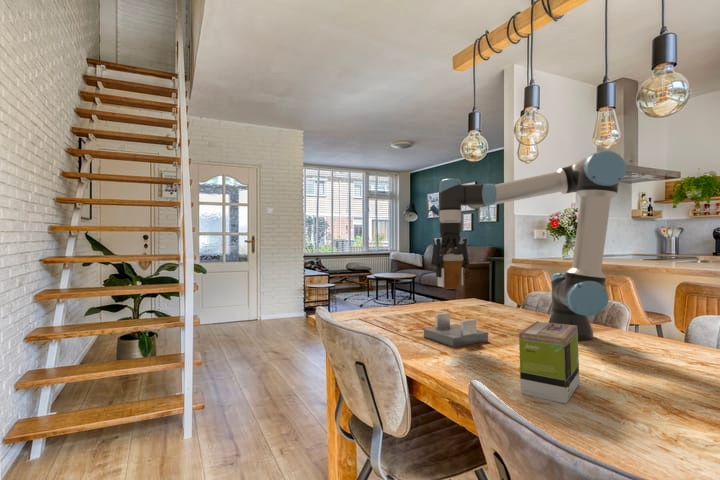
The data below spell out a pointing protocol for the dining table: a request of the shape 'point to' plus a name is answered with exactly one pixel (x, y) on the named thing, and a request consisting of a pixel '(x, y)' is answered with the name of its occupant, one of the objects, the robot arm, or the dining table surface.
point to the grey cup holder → (455, 332)
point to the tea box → (549, 361)
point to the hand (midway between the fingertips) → (450, 285)
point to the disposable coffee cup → (452, 270)
